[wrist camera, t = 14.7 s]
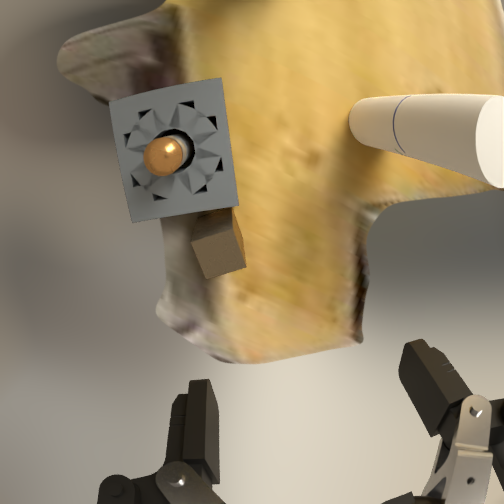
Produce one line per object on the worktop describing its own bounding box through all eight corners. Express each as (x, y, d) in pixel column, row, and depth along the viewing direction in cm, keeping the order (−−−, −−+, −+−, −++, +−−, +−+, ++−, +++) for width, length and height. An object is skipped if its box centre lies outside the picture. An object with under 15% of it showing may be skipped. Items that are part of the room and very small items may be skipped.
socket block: (119, 103, 35) (108, 102, 31) (222, 81, 35) (221, 77, 32) (140, 213, 42) (132, 222, 38) (237, 197, 42) (238, 205, 38)
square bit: (197, 217, 43) (190, 242, 34) (231, 206, 42) (232, 228, 34) (209, 248, 45) (206, 279, 36) (242, 238, 44) (246, 267, 36)
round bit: (161, 136, 38) (140, 141, 28) (190, 131, 38) (178, 134, 28) (166, 165, 39) (147, 179, 30) (195, 160, 39) (184, 172, 30)
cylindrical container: (372, 88, 36) (506, 79, 14) (401, 126, 39) (535, 154, 16) (338, 117, 38) (461, 128, 15) (369, 156, 40) (495, 206, 18)
